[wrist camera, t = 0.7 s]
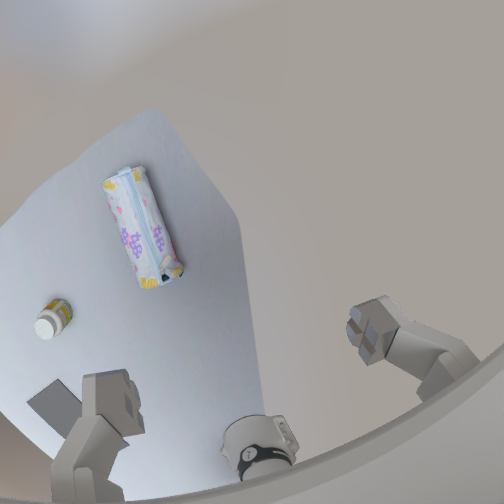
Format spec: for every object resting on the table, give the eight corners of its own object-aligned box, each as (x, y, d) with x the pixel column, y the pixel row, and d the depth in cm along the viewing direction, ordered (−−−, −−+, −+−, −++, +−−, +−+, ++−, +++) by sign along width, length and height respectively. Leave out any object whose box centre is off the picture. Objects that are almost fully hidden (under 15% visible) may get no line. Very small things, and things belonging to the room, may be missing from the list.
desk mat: (129, 444, 63) (129, 445, 62) (94, 461, 61) (94, 462, 61) (58, 378, 56) (57, 379, 56) (27, 401, 55) (26, 402, 54)
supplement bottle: (75, 305, 55) (60, 324, 46) (68, 328, 55) (53, 348, 46) (53, 293, 53) (34, 309, 44) (46, 316, 54) (28, 334, 44)
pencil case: (184, 268, 59) (186, 281, 50) (143, 284, 58) (138, 300, 49) (147, 164, 54) (141, 157, 45) (104, 181, 53) (91, 178, 44)
